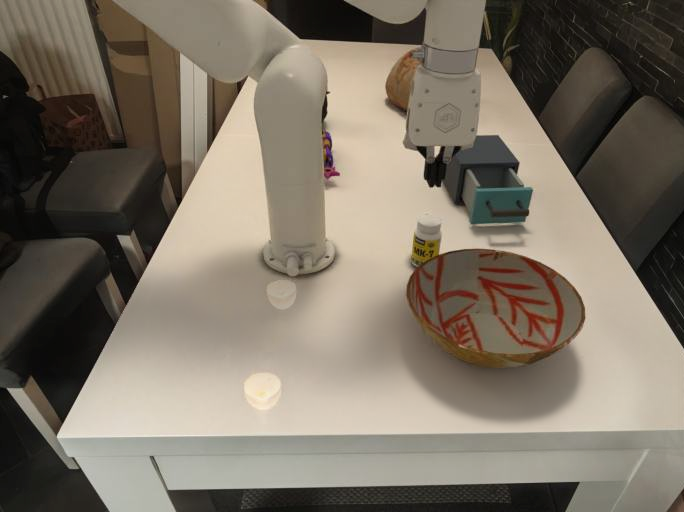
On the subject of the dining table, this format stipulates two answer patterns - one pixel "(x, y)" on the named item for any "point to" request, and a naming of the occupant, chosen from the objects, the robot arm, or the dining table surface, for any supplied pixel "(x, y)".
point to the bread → (401, 80)
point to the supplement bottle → (426, 239)
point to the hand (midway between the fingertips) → (433, 183)
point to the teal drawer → (495, 195)
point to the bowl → (494, 307)
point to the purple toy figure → (328, 156)
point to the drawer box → (477, 162)
